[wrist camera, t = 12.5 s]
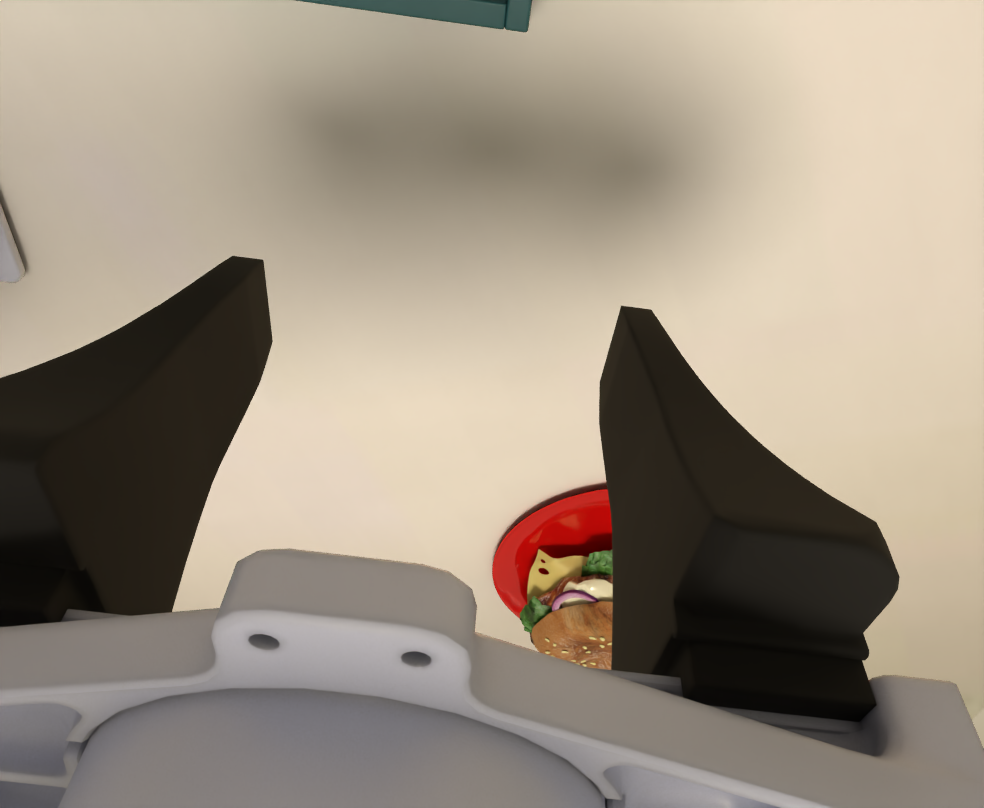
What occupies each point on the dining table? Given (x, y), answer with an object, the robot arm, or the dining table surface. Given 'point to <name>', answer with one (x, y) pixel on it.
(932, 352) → the dining table surface
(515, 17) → the tray
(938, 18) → the dining table surface
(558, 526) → the hamburger
